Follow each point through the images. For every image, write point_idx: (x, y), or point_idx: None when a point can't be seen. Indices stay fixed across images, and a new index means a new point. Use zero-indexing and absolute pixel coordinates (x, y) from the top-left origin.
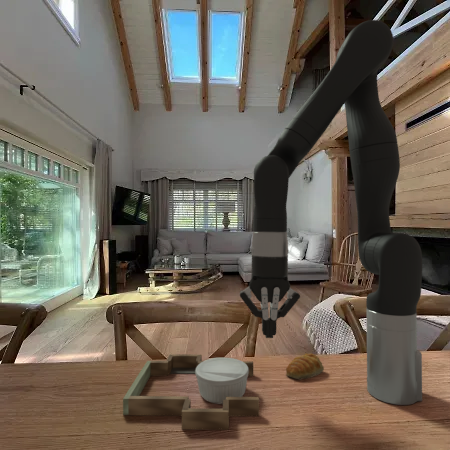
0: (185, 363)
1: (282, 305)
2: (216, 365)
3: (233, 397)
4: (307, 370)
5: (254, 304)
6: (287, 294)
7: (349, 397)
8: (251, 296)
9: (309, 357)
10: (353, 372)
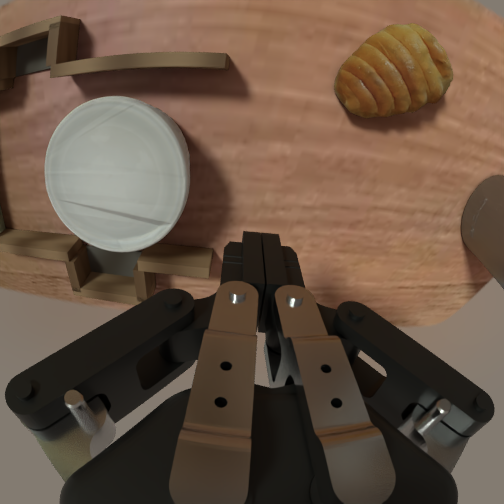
0: (35, 38)
1: (374, 354)
2: (90, 164)
3: (153, 265)
4: (395, 113)
5: (148, 348)
6: (415, 438)
7: (425, 213)
8: (115, 432)
9: (429, 74)
10: (492, 114)
